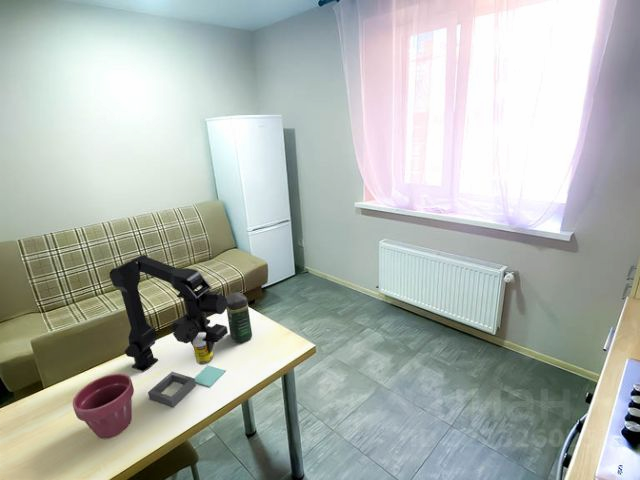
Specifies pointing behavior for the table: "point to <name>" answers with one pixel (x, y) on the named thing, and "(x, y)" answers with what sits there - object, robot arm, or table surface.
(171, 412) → the table surface
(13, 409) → the table surface
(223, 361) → the table surface
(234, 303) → the coffee jar
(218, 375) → the mat
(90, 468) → the table surface
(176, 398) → the socket
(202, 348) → the supplement bottle
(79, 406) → the plant pot
